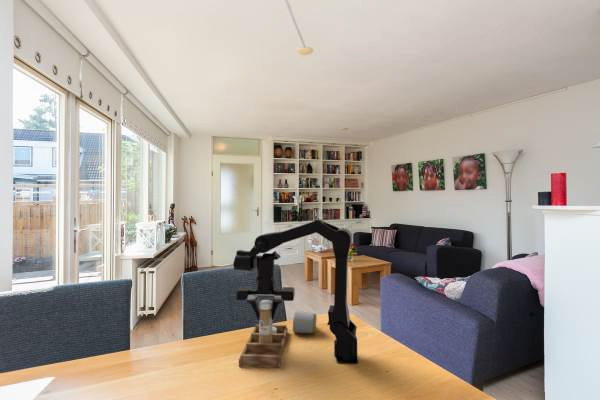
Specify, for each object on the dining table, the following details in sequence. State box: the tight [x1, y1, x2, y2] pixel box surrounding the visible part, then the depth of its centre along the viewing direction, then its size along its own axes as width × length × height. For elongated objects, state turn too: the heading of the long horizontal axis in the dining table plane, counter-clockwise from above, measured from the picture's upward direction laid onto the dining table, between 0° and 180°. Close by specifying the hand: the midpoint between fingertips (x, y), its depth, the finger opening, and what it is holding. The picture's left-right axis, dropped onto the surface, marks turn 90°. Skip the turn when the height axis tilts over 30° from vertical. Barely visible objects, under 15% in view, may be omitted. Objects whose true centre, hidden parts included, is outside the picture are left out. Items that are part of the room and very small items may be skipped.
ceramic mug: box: [292, 309, 317, 334], centre depth 112 cm, size 11×8×8 cm
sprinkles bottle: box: [258, 299, 274, 344], centre depth 98 cm, size 5×5×14 cm
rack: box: [238, 323, 289, 369], centre depth 99 cm, size 12×23×3 cm, turn 176°
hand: (266, 319), depth 99 cm, fingers closed on sprinkles bottle, 4 cm apart
